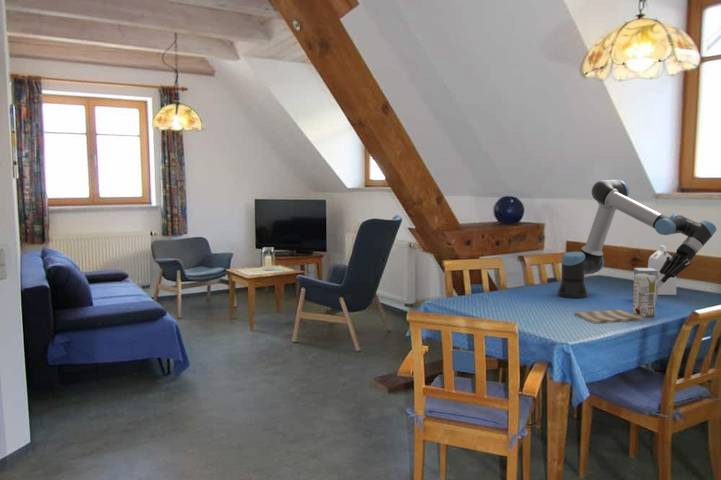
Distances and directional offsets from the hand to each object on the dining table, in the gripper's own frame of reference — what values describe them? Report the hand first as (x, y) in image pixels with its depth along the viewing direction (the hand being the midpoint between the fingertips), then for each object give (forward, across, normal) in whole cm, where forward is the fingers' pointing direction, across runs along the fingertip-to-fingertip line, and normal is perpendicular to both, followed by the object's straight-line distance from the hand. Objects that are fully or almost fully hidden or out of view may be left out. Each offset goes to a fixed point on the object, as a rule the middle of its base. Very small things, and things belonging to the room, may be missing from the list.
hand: (656, 286), depth 258 cm
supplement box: (-1, +26, -20) cm, 33 cm away
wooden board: (+26, +1, +7) cm, 27 cm away
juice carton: (+14, 0, -6) cm, 15 cm away
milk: (-17, +43, -37) cm, 59 cm away
